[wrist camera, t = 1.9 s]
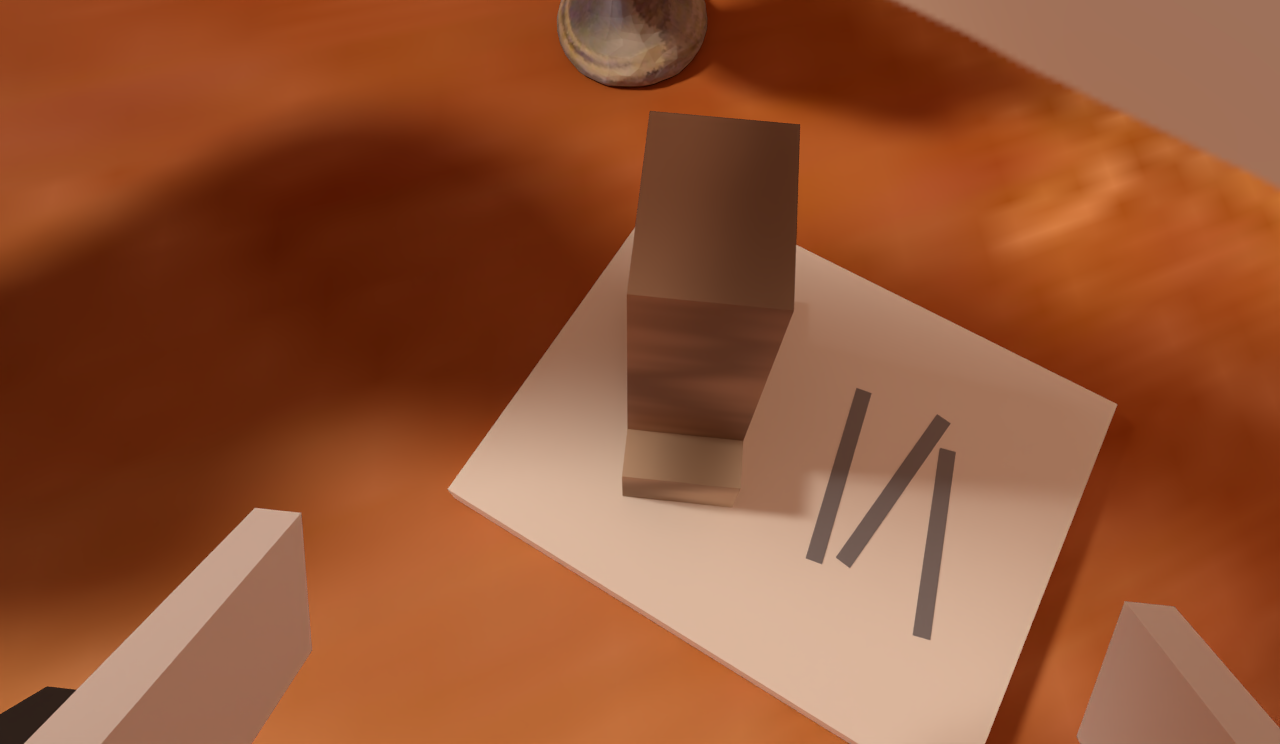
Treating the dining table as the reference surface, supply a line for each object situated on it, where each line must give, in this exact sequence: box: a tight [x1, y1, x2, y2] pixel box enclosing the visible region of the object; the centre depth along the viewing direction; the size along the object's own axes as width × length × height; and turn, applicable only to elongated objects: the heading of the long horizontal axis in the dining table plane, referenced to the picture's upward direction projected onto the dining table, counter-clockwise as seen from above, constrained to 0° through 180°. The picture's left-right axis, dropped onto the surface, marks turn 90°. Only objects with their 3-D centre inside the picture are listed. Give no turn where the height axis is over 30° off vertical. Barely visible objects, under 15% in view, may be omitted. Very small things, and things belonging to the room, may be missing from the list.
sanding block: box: [622, 111, 800, 507], centre depth 26 cm, size 4×9×12 cm, turn 174°
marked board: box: [448, 228, 1117, 744], centre depth 31 cm, size 20×16×1 cm
